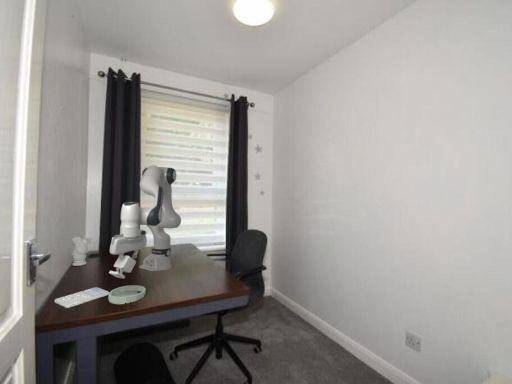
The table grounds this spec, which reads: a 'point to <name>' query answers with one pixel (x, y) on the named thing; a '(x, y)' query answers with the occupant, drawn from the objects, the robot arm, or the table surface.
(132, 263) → the security camera
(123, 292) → the faceted green bowl
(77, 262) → the cherub figurine
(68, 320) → the table surface
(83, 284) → the table surface
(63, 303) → the calculator
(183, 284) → the table surface
